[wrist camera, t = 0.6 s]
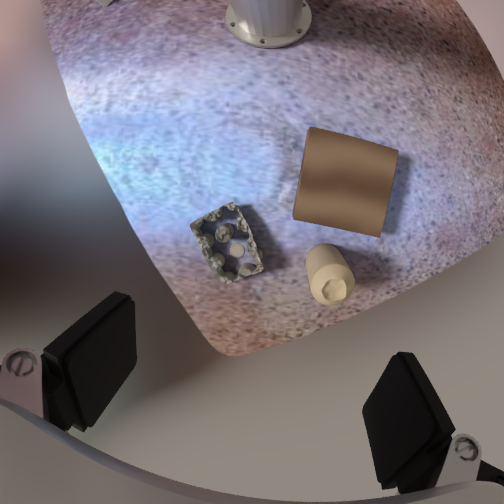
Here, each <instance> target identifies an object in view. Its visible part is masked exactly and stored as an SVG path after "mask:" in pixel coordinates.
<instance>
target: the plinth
mask: <svg viewBox="0 0 504 504" xmlns="http://www.w3.org/2000/svg"><path fill="white" fill-rule="evenodd" d="M397 156H398V150H395V149H392V148H389V147H386V146H383V145H380V144H377V143H373V142H370V141H366V140H363V139H359V138H356V137H352V136H348V135H344V134H340V133H336V132H332V131H328V130H323V129H319V128H314V127H310V128H309V129H308V130H307V136H306V142H305V148H304V153H303V159H302V165H301V170H300V176H299V182H298V187H297V192H296V198H295V203H294V208H293V213H292V214H293V219H294V220H298V221H303V222H309V223H314V224H319V225H323V226H328V227H333V228H338V229H343V230H347V231H352V232H357V233H361V234H366V235H370V236H375V237H379V238H380V235H381V231H382V227H383V223H384V219H385V215H386V211H387V207H388V202H389V198H390V193H391V189H392V184H393V179H394V173H395V168H396V162H397Z"/></svg>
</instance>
